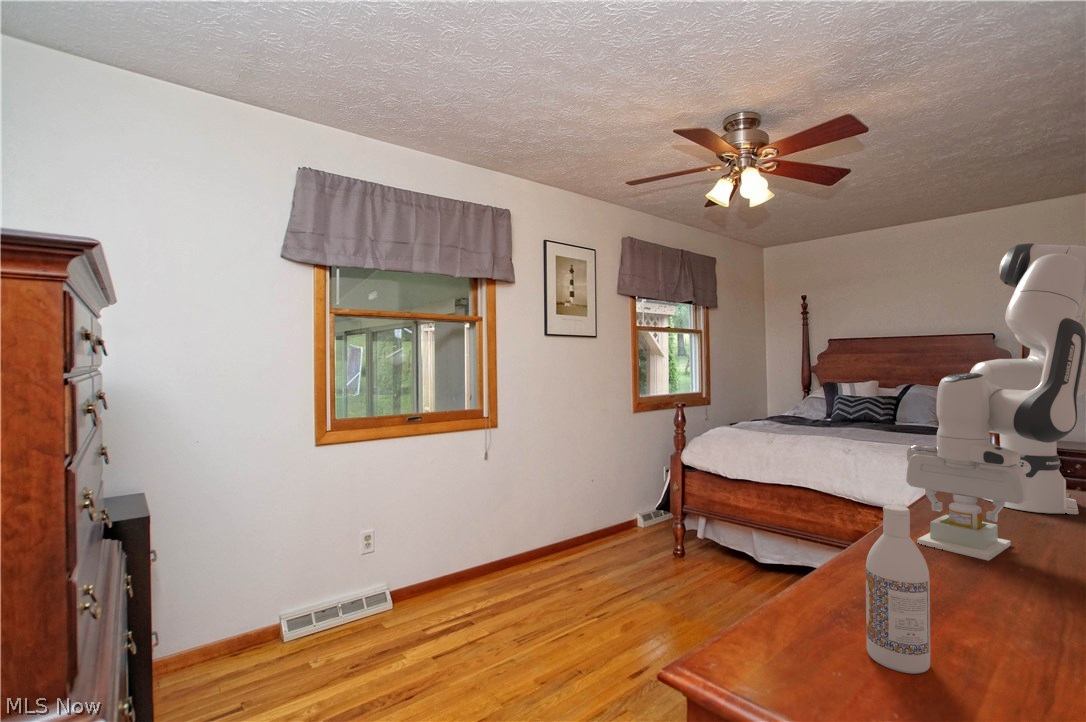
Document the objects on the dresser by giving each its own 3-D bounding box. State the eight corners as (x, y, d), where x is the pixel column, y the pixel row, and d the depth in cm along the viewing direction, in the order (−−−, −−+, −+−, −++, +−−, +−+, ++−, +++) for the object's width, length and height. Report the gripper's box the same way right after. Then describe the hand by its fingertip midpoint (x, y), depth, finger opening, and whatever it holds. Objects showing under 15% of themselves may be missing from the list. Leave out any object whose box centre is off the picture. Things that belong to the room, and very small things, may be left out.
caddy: (942, 530, 120) (942, 511, 120) (1010, 545, 111) (1010, 524, 111) (917, 543, 112) (917, 522, 112) (988, 560, 102) (988, 537, 102)
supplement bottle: (969, 536, 114) (969, 491, 114) (988, 545, 108) (988, 497, 108) (943, 536, 114) (942, 491, 114) (961, 544, 109) (960, 497, 109)
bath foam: (871, 640, 74) (869, 497, 74) (932, 657, 70) (931, 506, 70) (862, 662, 69) (860, 508, 69) (928, 682, 64) (926, 518, 64)
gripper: (900, 445, 118) (901, 507, 118) (1021, 458, 101) (1021, 530, 101) (912, 442, 122) (913, 502, 122) (1030, 455, 105) (1031, 524, 105)
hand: (963, 515), depth 111 cm, fingers open, 8 cm apart
